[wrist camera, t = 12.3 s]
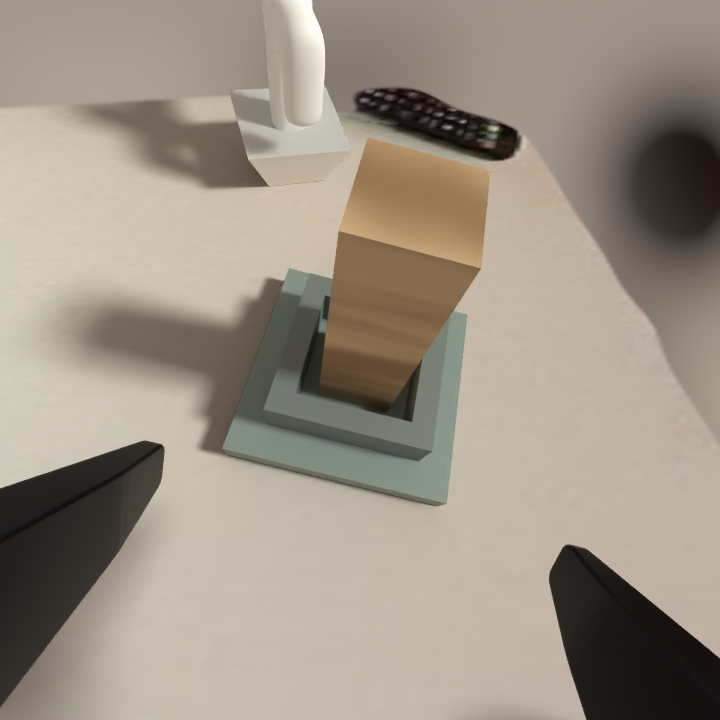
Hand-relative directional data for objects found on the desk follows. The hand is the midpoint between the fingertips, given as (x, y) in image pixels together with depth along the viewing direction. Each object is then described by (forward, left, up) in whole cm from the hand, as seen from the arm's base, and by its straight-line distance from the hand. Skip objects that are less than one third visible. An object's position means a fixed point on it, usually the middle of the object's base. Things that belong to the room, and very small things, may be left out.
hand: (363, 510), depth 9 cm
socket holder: (+9, -1, -14) cm, 16 cm away
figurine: (+27, +6, -14) cm, 31 cm away
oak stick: (+9, -1, -12) cm, 15 cm away
